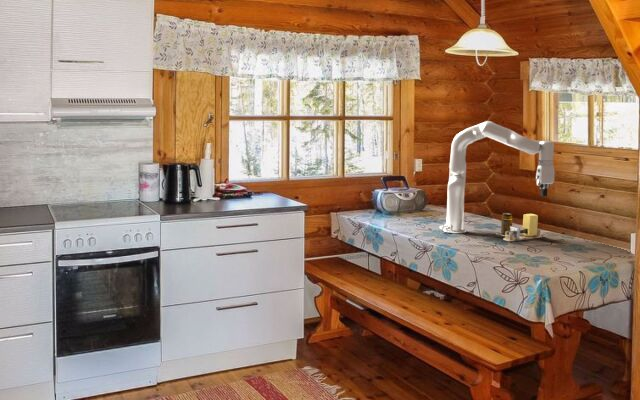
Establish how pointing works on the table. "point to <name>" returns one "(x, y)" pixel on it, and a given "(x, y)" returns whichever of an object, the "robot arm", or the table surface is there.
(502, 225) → the condiment
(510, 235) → the cord rig
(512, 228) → the grey slab
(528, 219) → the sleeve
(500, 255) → the table surface
